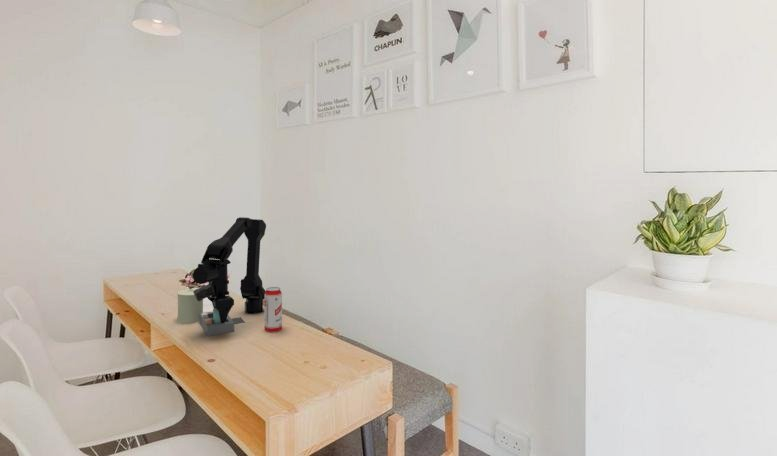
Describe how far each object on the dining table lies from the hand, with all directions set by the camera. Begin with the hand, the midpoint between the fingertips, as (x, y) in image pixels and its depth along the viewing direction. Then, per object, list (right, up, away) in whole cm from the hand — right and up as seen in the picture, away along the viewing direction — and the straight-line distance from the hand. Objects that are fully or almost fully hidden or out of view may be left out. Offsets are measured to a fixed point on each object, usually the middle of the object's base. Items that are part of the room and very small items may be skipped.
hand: (219, 319), depth 148 cm
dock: (-3, -4, +3) cm, 6 cm away
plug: (0, -4, 0) cm, 4 cm away
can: (-16, -3, +11) cm, 20 cm away
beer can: (+19, -5, +2) cm, 20 cm away
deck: (+2, -4, +10) cm, 11 cm away
